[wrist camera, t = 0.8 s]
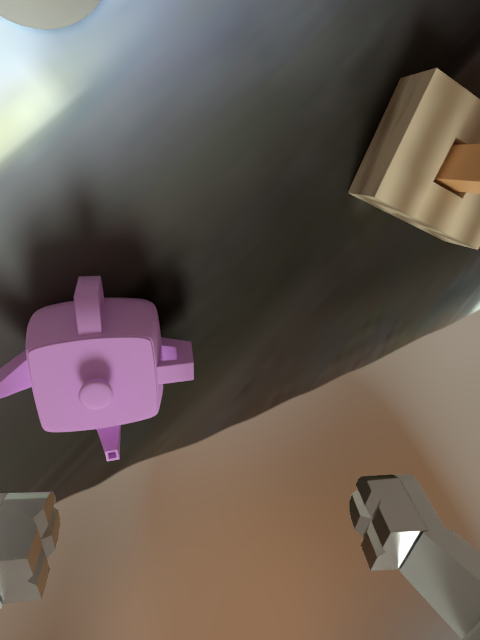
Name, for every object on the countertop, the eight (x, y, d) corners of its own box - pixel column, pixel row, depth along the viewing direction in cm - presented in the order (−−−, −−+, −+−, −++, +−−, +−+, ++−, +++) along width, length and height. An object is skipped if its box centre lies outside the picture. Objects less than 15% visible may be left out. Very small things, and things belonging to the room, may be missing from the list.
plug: (406, 176, 51) (496, 182, 39) (421, 145, 50) (519, 142, 38) (427, 188, 53) (521, 198, 40) (442, 159, 52) (544, 159, 39)
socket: (347, 192, 50) (374, 197, 45) (400, 78, 46) (436, 67, 41) (444, 241, 57) (477, 249, 51) (497, 144, 53) (539, 142, 48)
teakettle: (196, 332, 52) (215, 379, 41) (114, 421, 53) (111, 490, 42) (86, 247, 44) (73, 277, 33) (-6, 355, 46) (-47, 417, 35)
